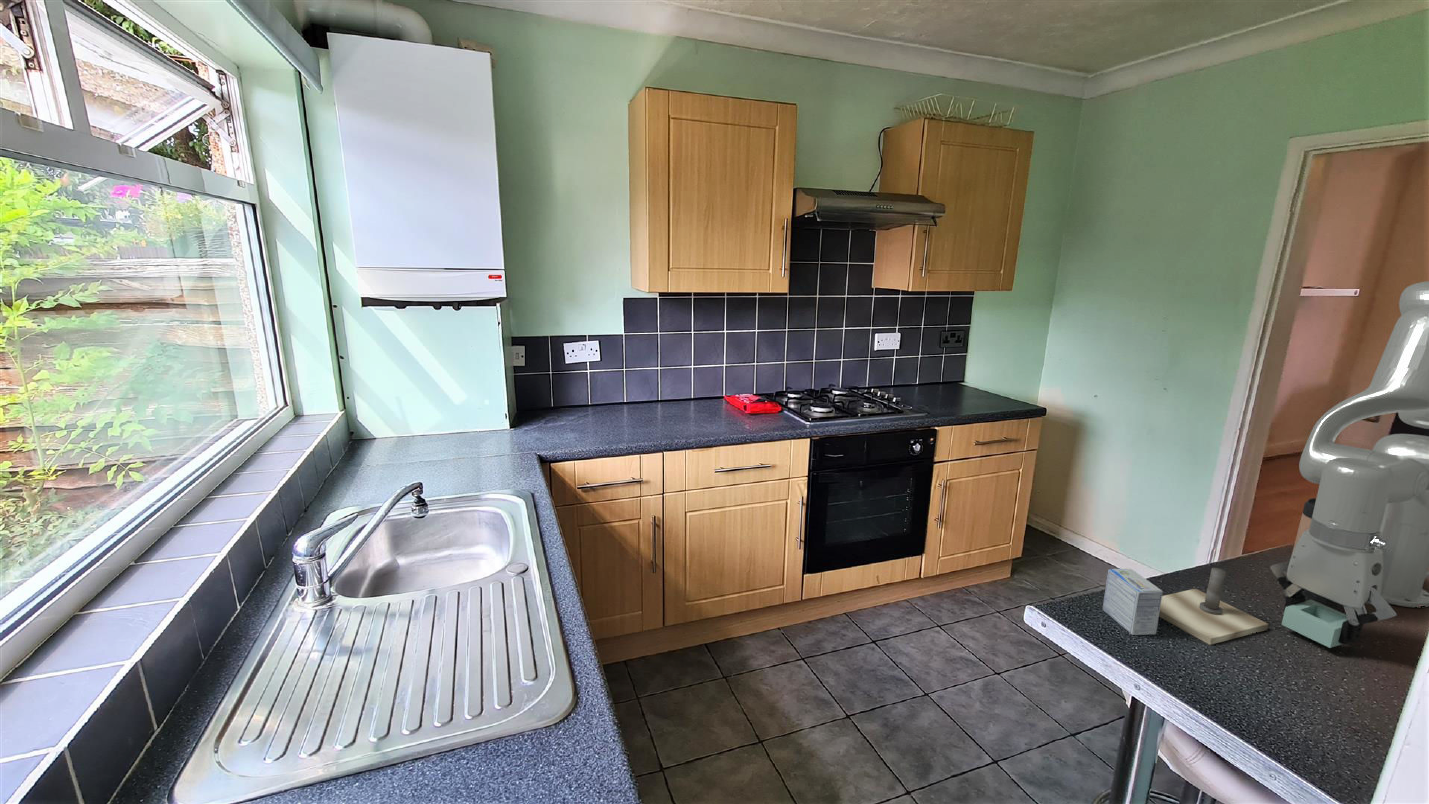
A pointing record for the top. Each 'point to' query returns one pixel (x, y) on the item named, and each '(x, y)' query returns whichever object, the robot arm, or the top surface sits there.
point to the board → (1208, 613)
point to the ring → (1315, 622)
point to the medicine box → (1132, 601)
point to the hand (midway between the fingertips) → (1319, 628)
